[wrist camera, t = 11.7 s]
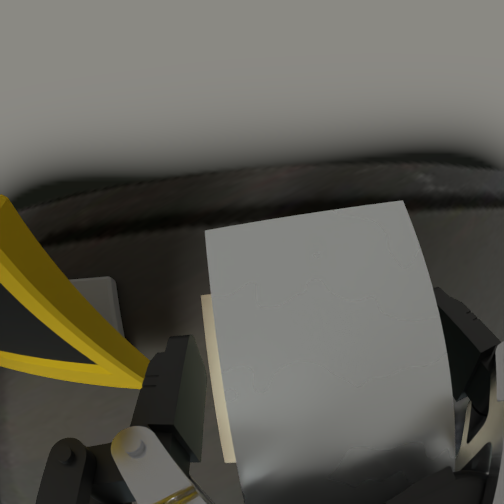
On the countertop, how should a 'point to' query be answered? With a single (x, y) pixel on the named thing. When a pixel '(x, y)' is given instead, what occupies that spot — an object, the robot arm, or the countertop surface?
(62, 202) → the countertop surface
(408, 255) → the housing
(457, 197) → the countertop surface
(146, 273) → the countertop surface
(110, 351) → the toy computer monitor
